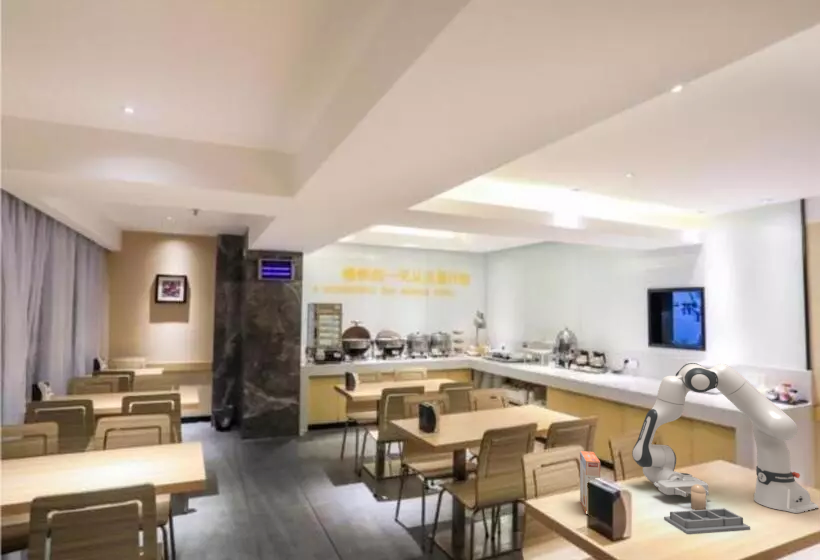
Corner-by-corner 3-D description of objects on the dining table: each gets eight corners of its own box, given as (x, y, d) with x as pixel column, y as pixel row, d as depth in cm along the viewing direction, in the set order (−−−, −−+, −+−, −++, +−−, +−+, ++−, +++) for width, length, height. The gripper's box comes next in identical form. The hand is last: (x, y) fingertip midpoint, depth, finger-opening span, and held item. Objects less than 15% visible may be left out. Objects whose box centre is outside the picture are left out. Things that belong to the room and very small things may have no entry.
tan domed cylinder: (699, 505, 194) (698, 482, 195) (709, 511, 189) (708, 486, 190) (688, 506, 193) (687, 482, 194) (697, 511, 188) (697, 487, 189)
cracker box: (601, 516, 182) (601, 461, 184) (585, 515, 184) (584, 460, 185) (595, 502, 196) (594, 451, 198) (579, 501, 197) (579, 450, 199)
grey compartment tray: (723, 515, 185) (723, 506, 185) (750, 529, 173) (749, 519, 174) (664, 519, 181) (663, 510, 181) (687, 534, 169) (687, 524, 169)
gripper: (651, 475, 205) (673, 487, 191) (693, 473, 208) (718, 485, 194) (651, 490, 204) (674, 503, 190) (693, 488, 207) (718, 500, 194)
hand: (696, 494), depth 192 cm, fingers open, 8 cm apart
